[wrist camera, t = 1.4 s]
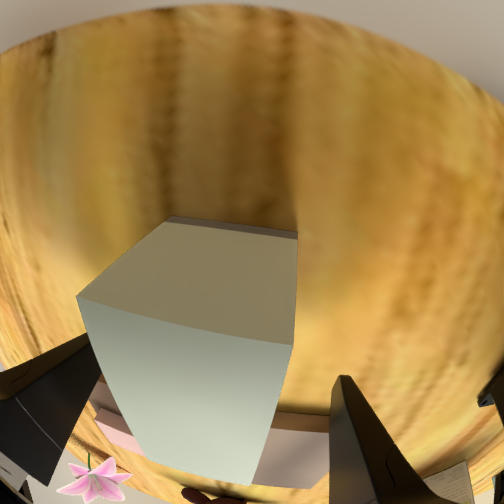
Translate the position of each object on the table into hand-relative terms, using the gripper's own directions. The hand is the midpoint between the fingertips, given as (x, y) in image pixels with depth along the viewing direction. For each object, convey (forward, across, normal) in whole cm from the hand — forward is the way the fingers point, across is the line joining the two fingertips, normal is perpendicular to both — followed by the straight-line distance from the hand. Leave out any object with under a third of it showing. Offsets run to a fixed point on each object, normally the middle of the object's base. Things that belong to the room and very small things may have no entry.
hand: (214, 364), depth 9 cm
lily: (+3, +18, +34) cm, 38 cm away
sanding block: (+2, 0, 0) cm, 3 cm away
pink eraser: (+1, +7, +12) cm, 14 cm away
